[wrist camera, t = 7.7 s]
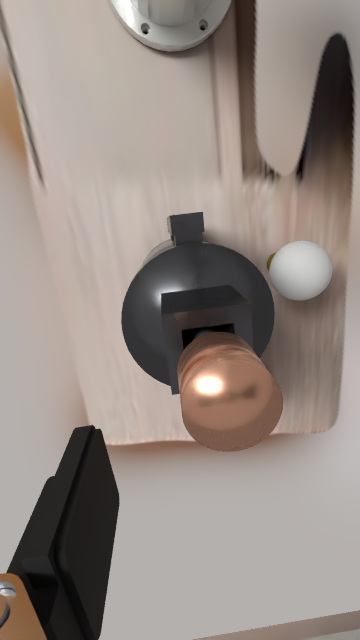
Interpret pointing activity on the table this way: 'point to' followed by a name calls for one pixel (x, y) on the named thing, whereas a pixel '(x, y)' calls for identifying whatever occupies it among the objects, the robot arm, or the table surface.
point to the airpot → (192, 299)
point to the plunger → (226, 392)
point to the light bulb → (300, 270)
